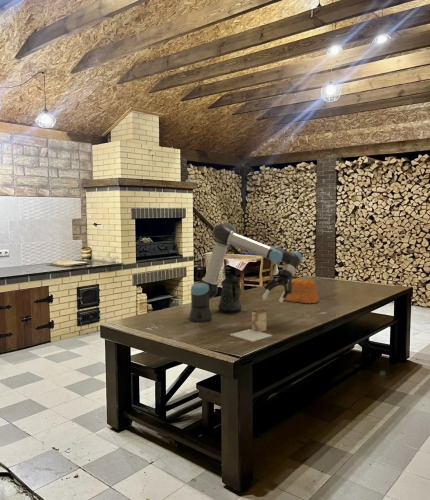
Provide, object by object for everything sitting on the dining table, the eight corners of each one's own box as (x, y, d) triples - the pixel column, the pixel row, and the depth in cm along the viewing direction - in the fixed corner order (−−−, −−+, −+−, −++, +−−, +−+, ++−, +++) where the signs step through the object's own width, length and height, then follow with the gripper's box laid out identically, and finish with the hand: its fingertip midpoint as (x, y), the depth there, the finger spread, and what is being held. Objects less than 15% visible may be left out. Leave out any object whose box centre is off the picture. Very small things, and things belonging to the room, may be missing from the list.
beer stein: (225, 307, 324) (225, 273, 322) (249, 310, 314) (249, 275, 312) (214, 312, 310) (213, 276, 308) (238, 315, 300) (238, 278, 298)
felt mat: (229, 335, 251) (229, 334, 251) (249, 330, 262) (249, 329, 261) (252, 342, 238) (252, 340, 237) (272, 336, 248) (272, 335, 248)
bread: (312, 304, 330) (312, 282, 329) (281, 301, 346) (281, 279, 344) (320, 301, 343) (320, 279, 342) (289, 297, 358) (289, 276, 357)
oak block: (251, 330, 261) (251, 310, 260) (258, 328, 265) (258, 308, 264) (259, 332, 257) (259, 311, 256) (266, 330, 261) (266, 310, 260)
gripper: (306, 278, 268) (290, 306, 259) (275, 274, 287) (259, 301, 278) (300, 270, 264) (284, 299, 255) (269, 267, 283) (253, 293, 274)
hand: (271, 300), depth 267 cm, fingers open, 13 cm apart
